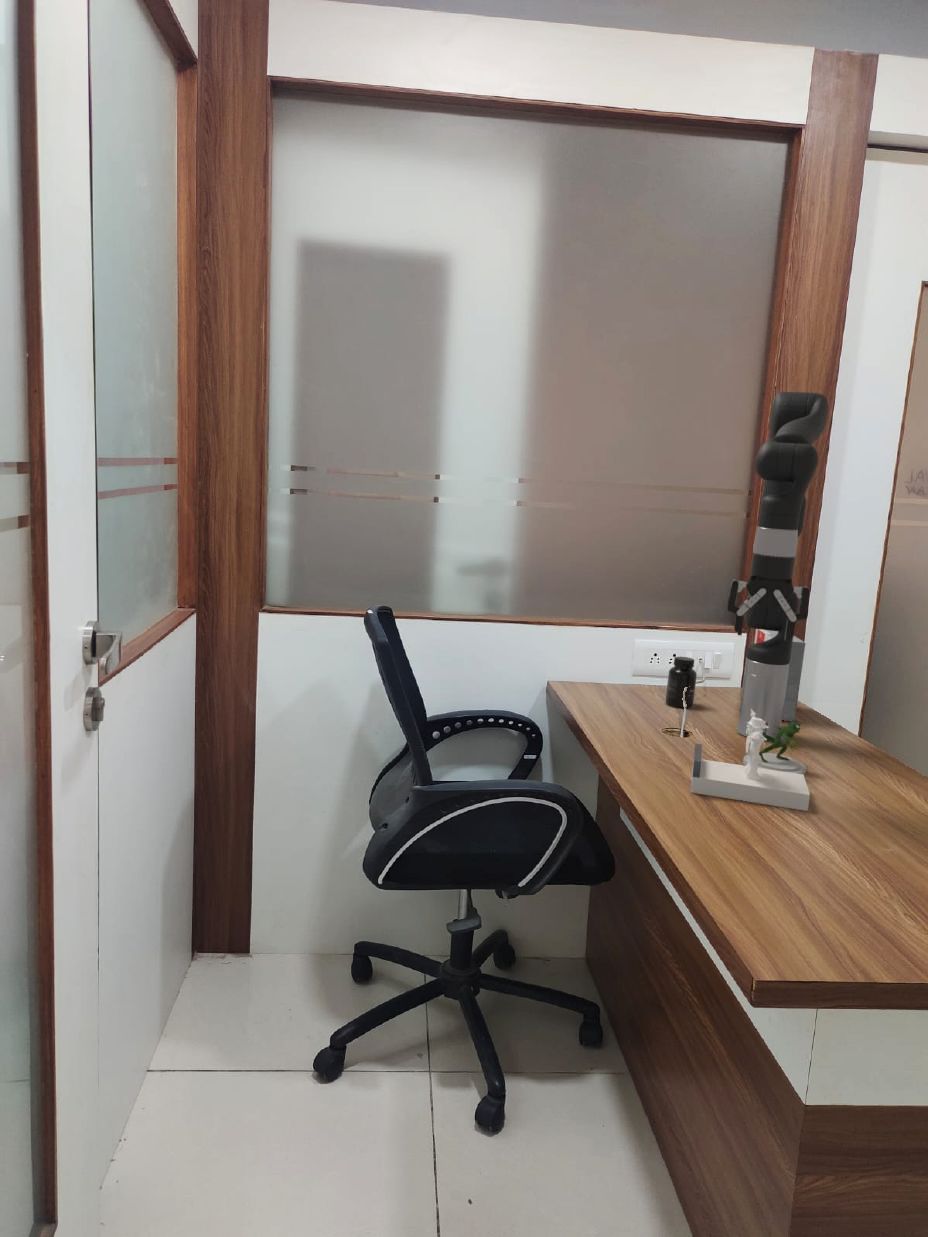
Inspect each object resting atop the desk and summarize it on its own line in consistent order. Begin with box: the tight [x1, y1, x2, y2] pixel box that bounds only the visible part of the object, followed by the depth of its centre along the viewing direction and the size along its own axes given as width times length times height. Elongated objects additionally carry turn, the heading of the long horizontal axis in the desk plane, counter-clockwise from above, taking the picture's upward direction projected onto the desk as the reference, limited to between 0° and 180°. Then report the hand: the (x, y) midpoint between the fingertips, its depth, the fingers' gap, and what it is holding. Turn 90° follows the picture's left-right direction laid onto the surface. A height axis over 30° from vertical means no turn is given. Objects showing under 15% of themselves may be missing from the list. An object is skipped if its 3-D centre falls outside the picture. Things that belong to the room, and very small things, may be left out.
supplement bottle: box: [665, 656, 698, 709], centre depth 216 cm, size 7×7×12 cm
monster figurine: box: [742, 719, 807, 776], centre depth 174 cm, size 12×12×10 cm
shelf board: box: [690, 758, 811, 812], centre depth 160 cm, size 11×20×3 cm, turn 74°
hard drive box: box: [753, 629, 806, 722], centre depth 215 cm, size 16×8×20 cm, turn 178°
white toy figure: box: [744, 709, 769, 780], centre depth 158 cm, size 9×4×12 cm, turn 167°
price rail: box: [692, 742, 703, 778], centre depth 161 cm, size 11×1×3 cm, turn 164°
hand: (762, 637), depth 164 cm, fingers open, 8 cm apart
